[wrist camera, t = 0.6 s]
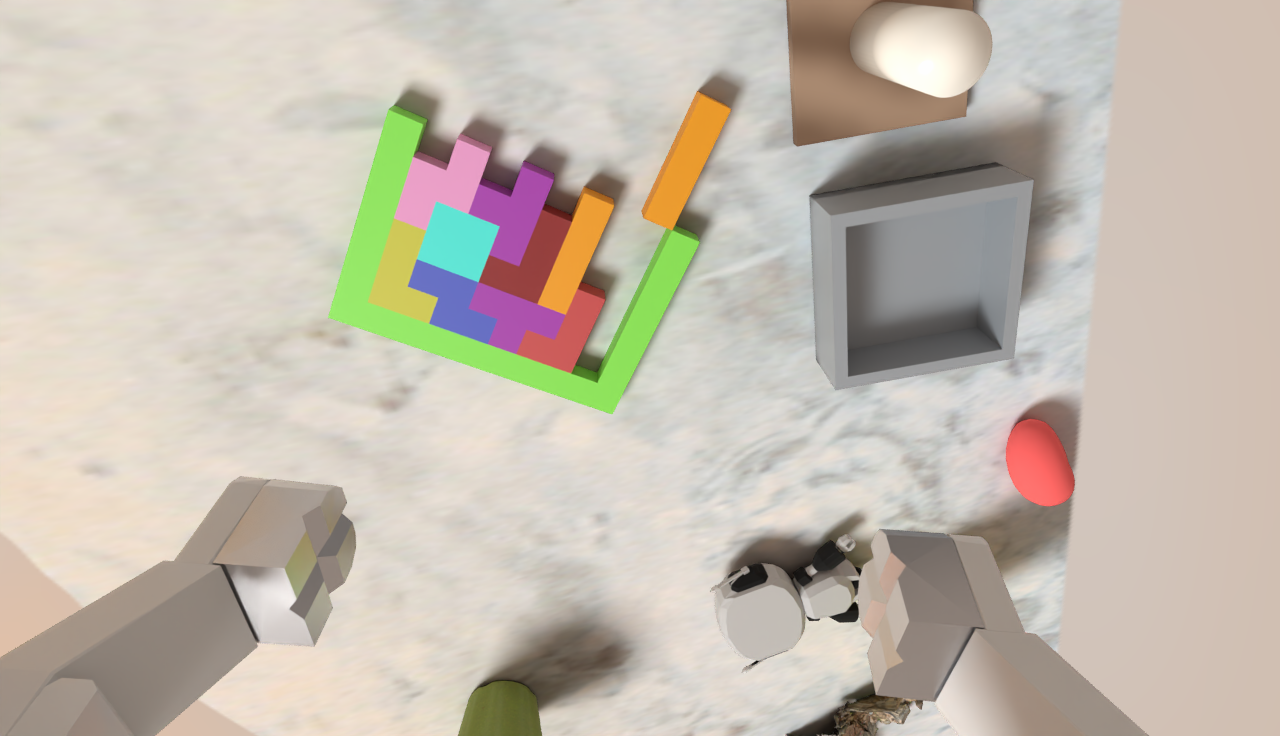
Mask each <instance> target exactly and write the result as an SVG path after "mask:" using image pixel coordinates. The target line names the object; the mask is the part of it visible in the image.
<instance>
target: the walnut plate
mask: <svg viewBox="0 0 1280 736" xmlns="http://www.w3.org/2000/svg"><path fill="white" fill-rule="evenodd" d="M786 2H787V22H788V42H789V63H790V83H791V103H792V123H793V143H794V144H795V145H796V146H802V145H808V144H814V143H819V142H825V141H831V140H836V139H842V138H847V137H853V136H859V135H864V134H870V133H876V132H881V131H887V130H892V129H898V128H904V127H909V126H915V125H921V124H926V123H932V122H938V121H943V120H949V119H954V118H960V117H966V110H967V94H968V90H966V91H965V92H963V93H961V94H959V95H956V96H953V97H947V98H940V97H935V96H932V95H929V94H926V93H923V92H920V91H918V90H915V89H912V88H909V87H906V86H903V85H901V84H898V83H895V82H892V81H889V80H887V79H884V78H881V77H878V76H875V75H872V74H870V73H867V72H865V71H863V70H861V69H860V68H859V67H858V66H857V65H856V63H855V62H854V60H853V58H852V55H851V52H850V37H851V32H852V29H853V27H854V25H855V23H856V21H857V20H858V18H859V17H860V16H861V15H862V13H863V12H865V11H866V10H867V9H868V8H870V7H871V6H873V5H875V4H878V3H881V2H898V3H907V4H916V5H925V6H935V7H944V8H953V9H962V10H969V11H972V12H973V0H786Z"/></svg>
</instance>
